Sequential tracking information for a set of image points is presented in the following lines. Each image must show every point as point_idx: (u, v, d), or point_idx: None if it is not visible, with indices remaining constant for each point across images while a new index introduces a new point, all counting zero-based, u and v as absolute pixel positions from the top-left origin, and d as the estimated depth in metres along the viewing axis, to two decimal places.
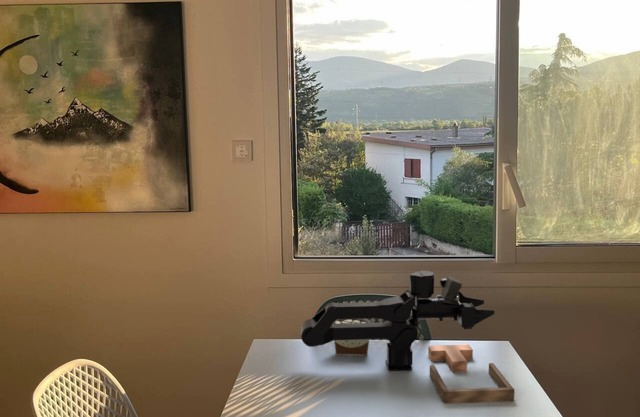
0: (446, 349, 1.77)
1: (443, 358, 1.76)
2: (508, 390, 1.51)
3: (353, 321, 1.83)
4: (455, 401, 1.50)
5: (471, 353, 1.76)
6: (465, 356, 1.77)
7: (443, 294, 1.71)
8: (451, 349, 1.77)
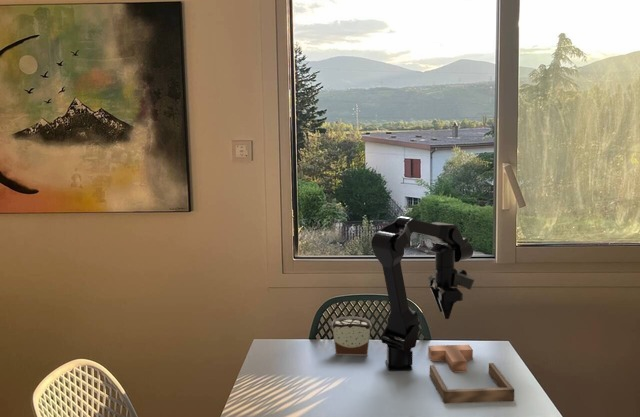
0: (446, 349, 1.77)
1: (443, 358, 1.76)
2: (508, 390, 1.51)
3: (353, 321, 1.83)
4: (455, 401, 1.50)
5: (471, 353, 1.76)
6: (465, 356, 1.77)
7: (457, 273, 1.83)
8: (451, 349, 1.77)
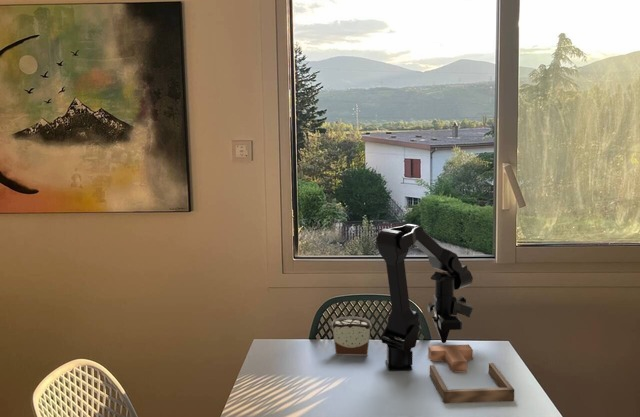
0: (446, 349, 1.77)
1: (443, 358, 1.76)
2: (508, 390, 1.51)
3: (353, 321, 1.83)
4: (455, 401, 1.50)
5: (471, 353, 1.76)
6: (465, 356, 1.77)
7: (456, 300, 1.85)
8: (451, 349, 1.77)
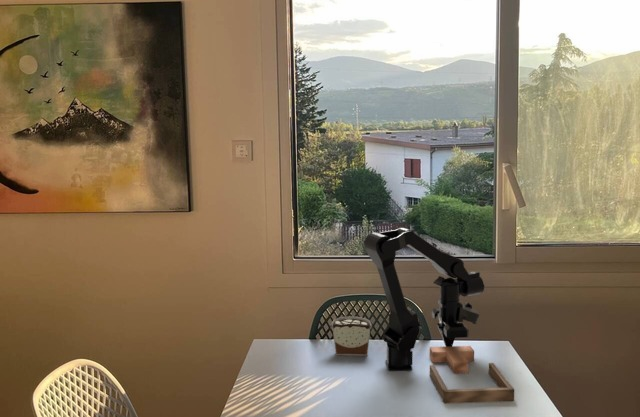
0: (447, 350, 1.76)
1: (444, 359, 1.75)
2: (508, 390, 1.51)
3: (353, 321, 1.83)
4: (455, 401, 1.50)
5: (473, 354, 1.75)
6: (466, 357, 1.75)
7: (462, 306, 1.79)
8: (452, 350, 1.76)
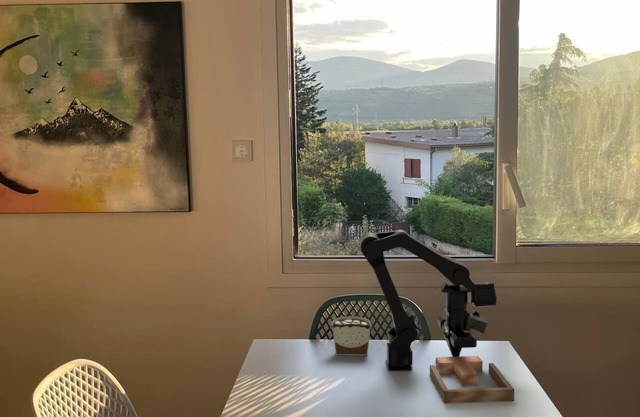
0: (454, 360, 1.68)
1: (452, 370, 1.68)
2: (508, 390, 1.51)
3: (353, 321, 1.83)
4: (455, 401, 1.50)
5: (481, 365, 1.68)
6: (475, 368, 1.68)
7: (470, 315, 1.71)
8: (460, 360, 1.68)
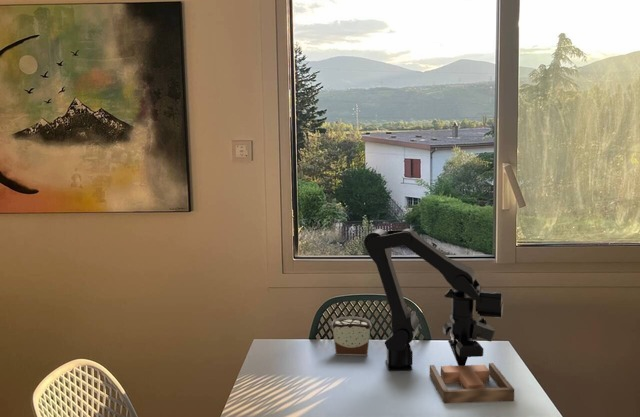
0: (460, 370, 1.62)
1: (457, 380, 1.62)
2: (508, 390, 1.51)
3: (353, 321, 1.83)
4: (455, 401, 1.50)
5: (488, 375, 1.62)
6: (481, 378, 1.62)
7: None
8: (466, 370, 1.62)
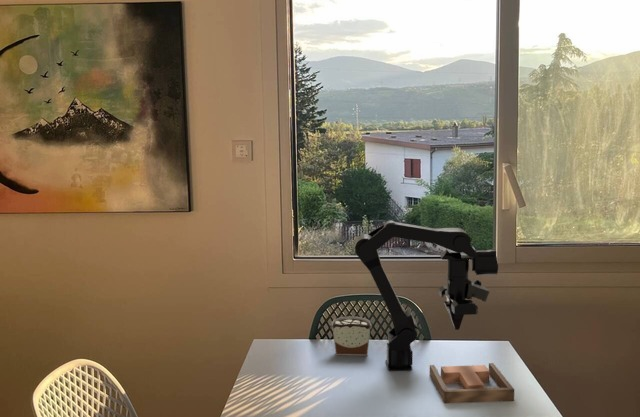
0: (460, 370, 1.62)
1: (457, 380, 1.62)
2: (508, 390, 1.51)
3: (353, 321, 1.83)
4: (455, 401, 1.50)
5: (488, 375, 1.62)
6: (481, 378, 1.62)
7: None
8: (466, 370, 1.62)
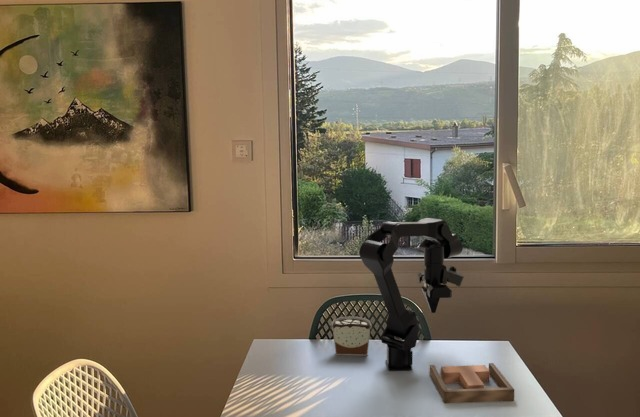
0: (460, 370, 1.62)
1: (457, 380, 1.62)
2: (508, 390, 1.51)
3: (353, 321, 1.83)
4: (455, 401, 1.50)
5: (488, 375, 1.62)
6: (481, 378, 1.62)
7: (446, 269, 1.80)
8: (466, 370, 1.62)
